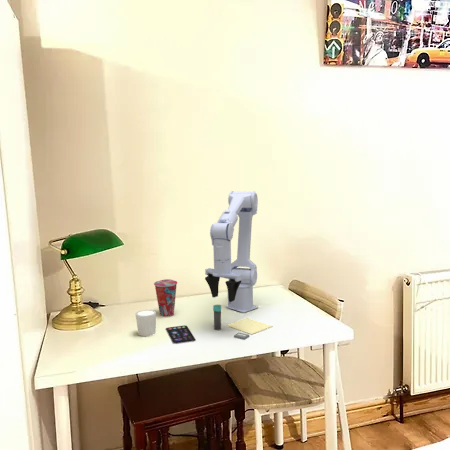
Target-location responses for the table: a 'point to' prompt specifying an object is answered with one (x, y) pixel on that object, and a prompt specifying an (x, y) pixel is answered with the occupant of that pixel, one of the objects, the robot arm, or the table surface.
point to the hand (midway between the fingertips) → (223, 298)
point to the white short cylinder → (146, 322)
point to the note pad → (249, 326)
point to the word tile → (241, 336)
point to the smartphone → (180, 334)
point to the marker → (217, 317)
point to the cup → (166, 296)
